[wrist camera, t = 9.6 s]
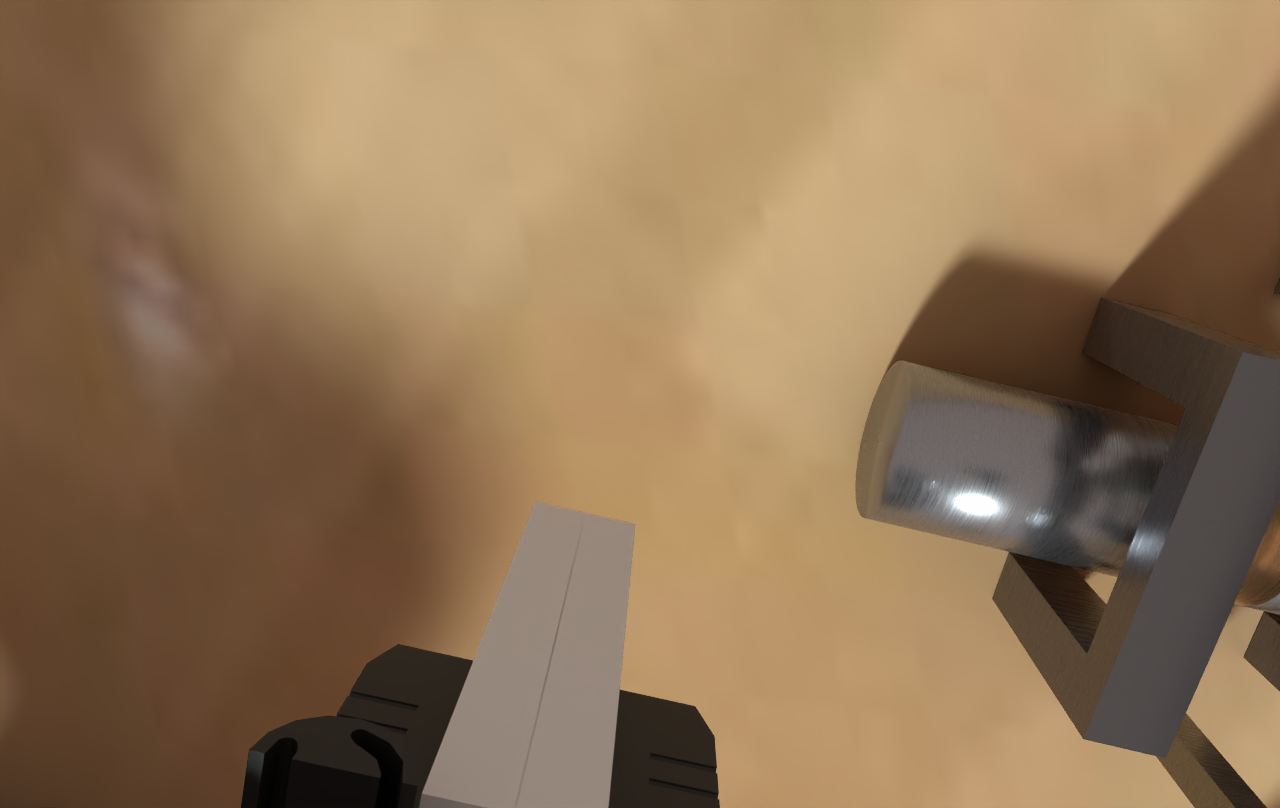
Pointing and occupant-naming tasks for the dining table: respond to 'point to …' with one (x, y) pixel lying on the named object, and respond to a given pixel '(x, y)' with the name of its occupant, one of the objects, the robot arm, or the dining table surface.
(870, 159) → the dining table surface
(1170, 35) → the dining table surface
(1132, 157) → the dining table surface
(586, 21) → the dining table surface
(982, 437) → the tube
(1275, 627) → the collar
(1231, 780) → the frame
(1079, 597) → the dark grey arch
